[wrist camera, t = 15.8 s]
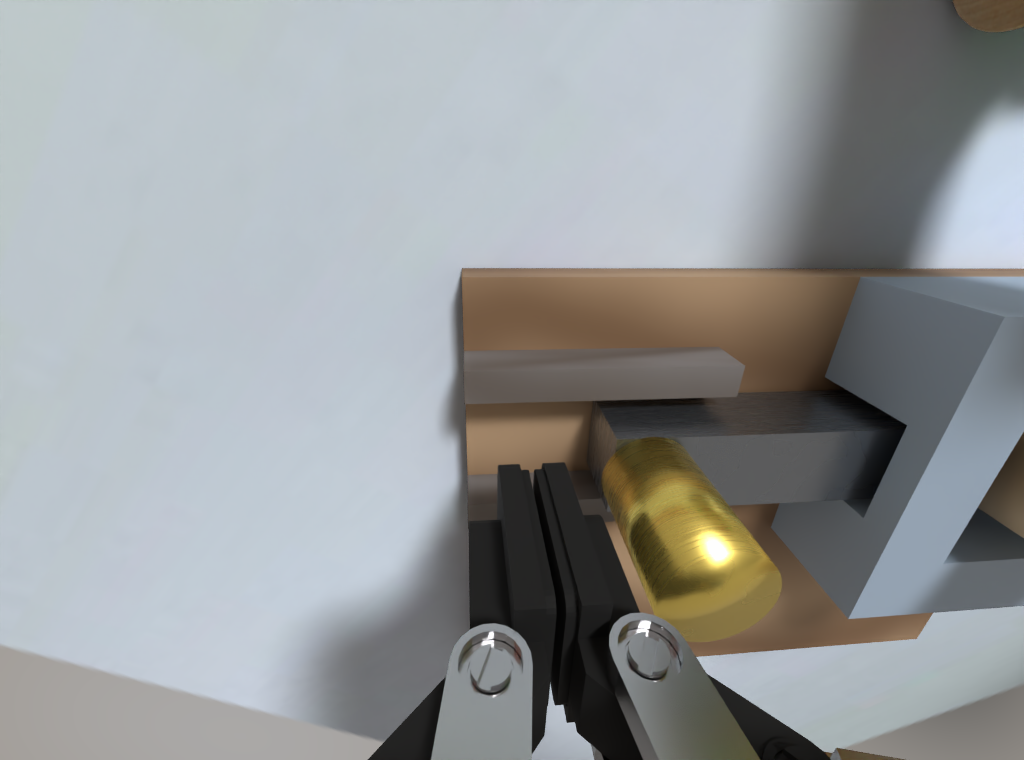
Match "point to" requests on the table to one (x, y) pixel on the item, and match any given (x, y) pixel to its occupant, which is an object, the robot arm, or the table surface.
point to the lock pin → (726, 489)
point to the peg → (1008, 492)
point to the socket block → (924, 450)
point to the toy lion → (991, 14)
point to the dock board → (658, 391)
